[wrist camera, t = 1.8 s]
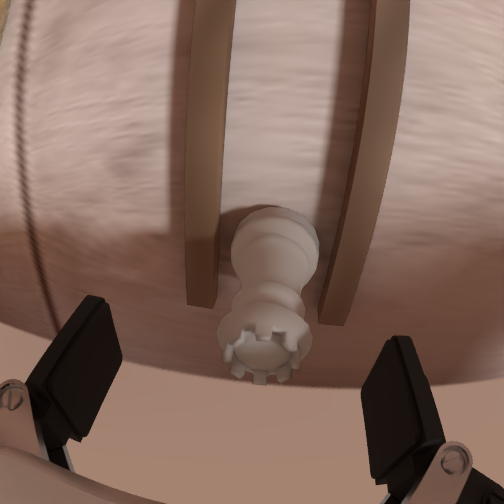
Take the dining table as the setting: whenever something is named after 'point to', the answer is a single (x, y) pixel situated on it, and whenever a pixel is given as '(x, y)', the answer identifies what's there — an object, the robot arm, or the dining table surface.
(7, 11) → the pastry
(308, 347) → the rook chess piece
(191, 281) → the guide track
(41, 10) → the dining table surface
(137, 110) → the dining table surface
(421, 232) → the dining table surface
